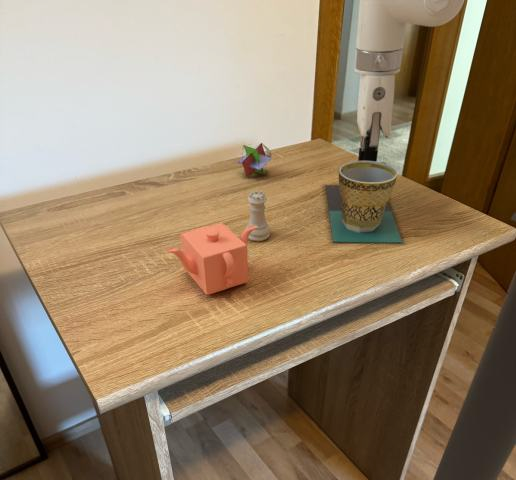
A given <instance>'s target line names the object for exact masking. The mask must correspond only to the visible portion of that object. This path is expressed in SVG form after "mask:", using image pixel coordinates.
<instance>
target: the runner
mask: <svg viewBox="0 0 516 480" xmlns="http://www.w3.org/2000/svg"><path fill="white" fill-rule="evenodd" d="M325 191H326V199H327V207H328V213H329V220H330V228H331V235H332V240H333V243H337V244H339V243H342V244H344V243H345V244H349V243H350V244H352V243H353V244H403V240H402V237H401V235H400V233H399V229H398V226H397V223H396V220H395V217H394V215H393V212H392V209H391V206H390V203H389V202H388V203H387V206H386V208H385V211H384V214H383V217H382V220H381V222H380V225H379V226H378V227H377V228H376V229H375V230H374V231H371V232H361V233H358V232H355V231H352V230H348V229H347V228H346V227H345V225H344V224H343V222H342V210H341V196H340V189H339V184H338V185H337V184H336V185H334V184H333V185H329V184H328V185H325Z"/></svg>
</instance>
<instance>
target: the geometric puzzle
mask: <svg viewBox="0 0 516 480" xmlns="http://www.w3.org/2000/svg"><path fill="white" fill-rule="evenodd" d="M256 144H258V145H256V146H255V147H252V146H251V147H250V146H247V145H246V144H242V148H243V149H244V151H245V154H244V153H241V154H242V156H241V158H240V159H238V161H237V164H238V165H240V166H243V168H242V167H240V168H241V170H242V171H243V173H244V174H245V177H246V179H247V178H249V177H252V176H253V175H254V174H256V173H258V174H260V175H261V176H266V173H267V171H268V170H267V167H266V166H267V164H268V163H270V162H271V160H272V159H273V157H272V152H271V150H270V149H269V148H268V147H267V146H266V145H265V144H264V143H263V142H260V143H259V142H258V143H256ZM248 145H251V144H248ZM264 167H265V169H264ZM255 177H257V176H254V178H255Z"/></svg>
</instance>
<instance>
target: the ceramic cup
mask: <svg viewBox="0 0 516 480" xmlns="http://www.w3.org/2000/svg"><path fill="white" fill-rule="evenodd" d="M397 178H398V171H397V170H396V168H394V167H393V166H392V165H390V164H387V163H386V162H384V161H383V162H380V161H377V162H375V161H358V160H354V161H350V162H346V163H344V164H342V165H341V166H340V167H339V168H338V185H339V189H340V196H341V210H342V222H343V224H344V225H345V227H346V228H347V229H348V230H352V231H355V232H358V233H361V232H371V231H374V230H375V229H376V228H377V227H378V226H379V225H380V222H381V220H382V217H383V214H384V211H385V208H386V206H387V203H389V200H390V197H391V195H392V193H393V190H394V187H395V185H396V182H397Z"/></svg>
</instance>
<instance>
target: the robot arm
mask: <svg viewBox="0 0 516 480" xmlns="http://www.w3.org/2000/svg"><path fill="white" fill-rule="evenodd" d="M464 3H465V0H359V7H358V19H357V20H358V21H357V33H356V43H355V46H356V47H355V55H354V56H355V57H354V68H353V69H354V73H357V74H359V75H360V77H359V85H358V86H359V87H358V95H357V96H358V97H357V110H356V111H357V112H356V122H357V123H356V124H357V126H358V130H359V133H360V143H359V144H360V147H359V148H358V159H357V161H375V162H378V153H379V144H380V137H381V133H382V135H383V137H385V138H386V139H388V138H389V137H390V136H391V133H392V132H391V131H392V121H393V110H394V100H395V82H396V80H395V79H396V74H399V73H400V72H401V68H402V61H403V60H402V59H403V53H404V46H405V45H404V44H405V38H406V31H407V24H409V25H410V24H411V25H417V26H422V27H429V28H431V27H432V28H434V27H440V26H443V25H445V24H447V23H449V22H451V21H452V20H453V19H454V18H455V17H456V16H457V15H458V14H459V12H460V11H461V9H462V8H463V5H464Z"/></svg>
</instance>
